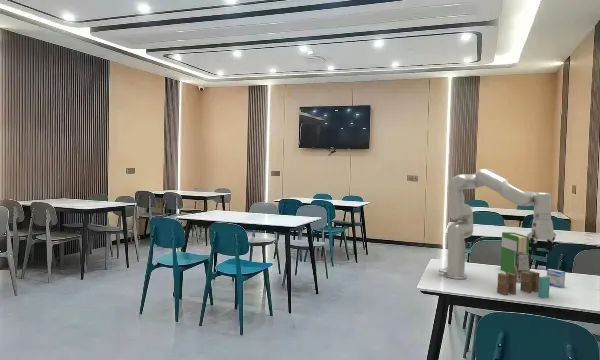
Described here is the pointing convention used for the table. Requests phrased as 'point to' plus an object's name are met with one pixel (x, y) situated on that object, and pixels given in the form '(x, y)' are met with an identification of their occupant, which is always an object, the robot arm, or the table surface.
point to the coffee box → (521, 264)
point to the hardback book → (512, 249)
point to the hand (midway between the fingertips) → (541, 250)
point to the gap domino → (543, 287)
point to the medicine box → (556, 278)
